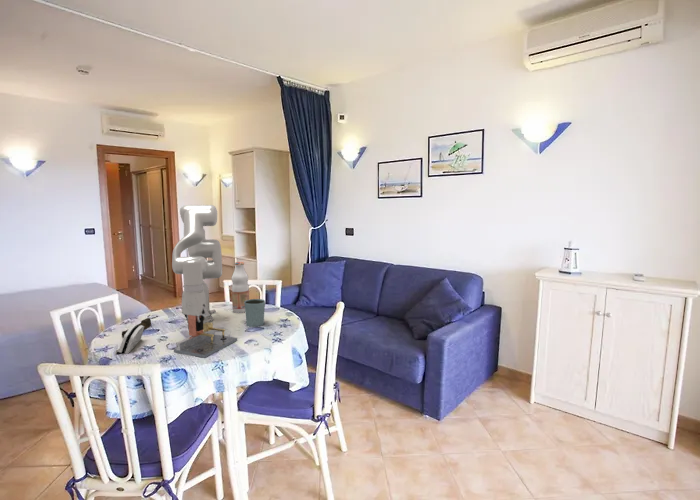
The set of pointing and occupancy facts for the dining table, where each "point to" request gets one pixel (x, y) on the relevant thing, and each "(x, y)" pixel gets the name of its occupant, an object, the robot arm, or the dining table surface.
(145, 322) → the hand tool
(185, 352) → the grey clamp fixture plate
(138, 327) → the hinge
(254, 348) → the dining table surface
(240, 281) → the fruit juice
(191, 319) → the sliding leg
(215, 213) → the robot arm
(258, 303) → the green cup
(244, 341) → the dining table surface
